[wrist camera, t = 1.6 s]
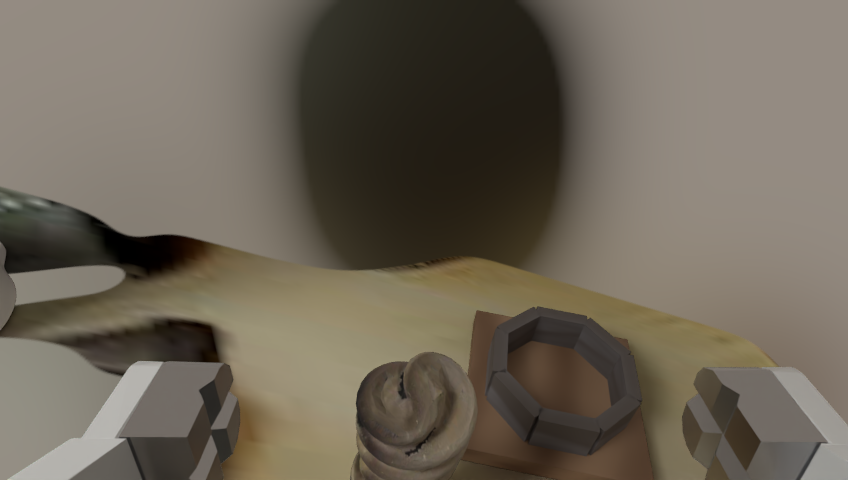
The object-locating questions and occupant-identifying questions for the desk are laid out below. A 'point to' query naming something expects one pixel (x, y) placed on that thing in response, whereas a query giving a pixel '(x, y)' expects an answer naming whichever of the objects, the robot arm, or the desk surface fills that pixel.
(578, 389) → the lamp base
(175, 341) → the desk surface
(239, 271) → the desk surface
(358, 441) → the light bulb
